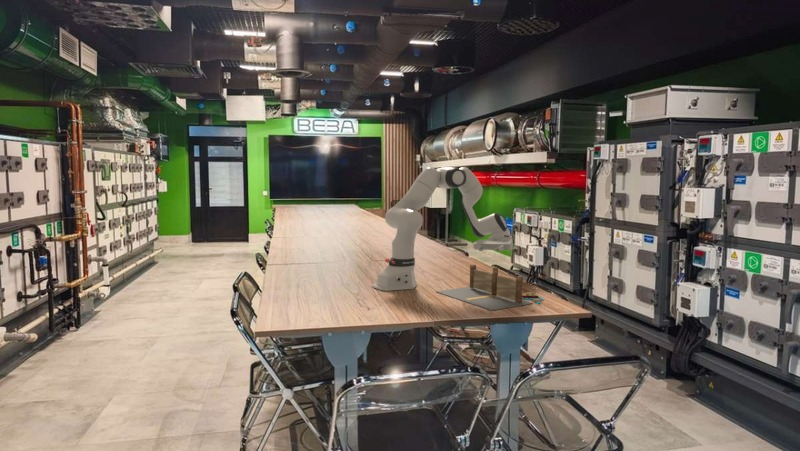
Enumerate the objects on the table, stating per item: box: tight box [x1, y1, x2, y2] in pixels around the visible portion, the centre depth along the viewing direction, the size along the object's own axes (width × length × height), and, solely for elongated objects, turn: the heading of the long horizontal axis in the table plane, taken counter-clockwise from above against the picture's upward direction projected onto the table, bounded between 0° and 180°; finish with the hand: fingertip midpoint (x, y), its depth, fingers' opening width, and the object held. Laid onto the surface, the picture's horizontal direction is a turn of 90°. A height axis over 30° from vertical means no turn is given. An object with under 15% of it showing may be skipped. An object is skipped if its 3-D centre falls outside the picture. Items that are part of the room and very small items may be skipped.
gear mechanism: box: [522, 287, 544, 305], centre depth 238 cm, size 20×5×9 cm
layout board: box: [435, 286, 534, 312], centre depth 239 cm, size 24×39×1 cm, turn 32°
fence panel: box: [469, 264, 493, 293], centre depth 249 cm, size 2×15×11 cm, turn 32°
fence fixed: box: [492, 267, 524, 303], centre depth 235 cm, size 2×18×13 cm, turn 33°
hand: (489, 249), depth 267 cm, fingers open, 8 cm apart
